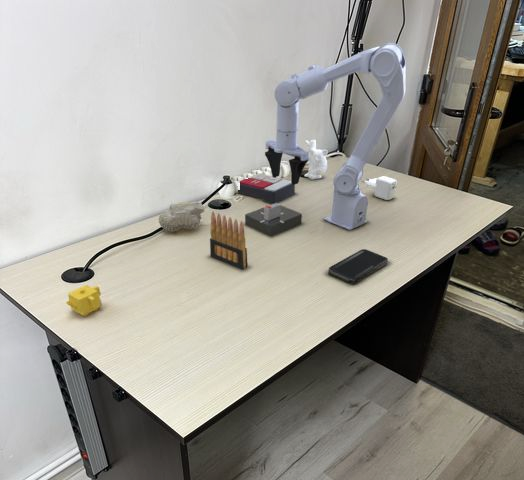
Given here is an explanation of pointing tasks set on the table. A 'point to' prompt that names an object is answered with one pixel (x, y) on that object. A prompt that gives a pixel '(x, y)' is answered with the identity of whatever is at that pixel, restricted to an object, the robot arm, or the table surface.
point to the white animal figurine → (316, 161)
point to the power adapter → (382, 187)
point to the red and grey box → (267, 188)
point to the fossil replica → (181, 216)
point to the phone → (357, 266)
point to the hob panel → (273, 221)
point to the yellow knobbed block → (85, 299)
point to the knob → (272, 211)
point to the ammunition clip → (228, 242)
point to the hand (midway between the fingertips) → (285, 180)
